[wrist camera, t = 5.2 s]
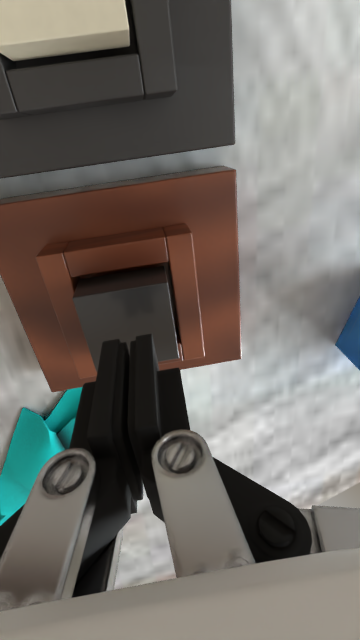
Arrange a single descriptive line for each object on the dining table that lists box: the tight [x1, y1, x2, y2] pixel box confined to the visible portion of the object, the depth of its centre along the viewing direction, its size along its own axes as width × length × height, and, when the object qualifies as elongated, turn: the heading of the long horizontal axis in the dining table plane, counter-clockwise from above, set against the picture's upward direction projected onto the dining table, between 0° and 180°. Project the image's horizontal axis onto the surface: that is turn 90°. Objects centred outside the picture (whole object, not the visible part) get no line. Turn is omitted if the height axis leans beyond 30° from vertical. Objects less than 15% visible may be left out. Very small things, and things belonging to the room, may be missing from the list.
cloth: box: [0, 387, 82, 526], centre depth 27 cm, size 26×14×2 cm, turn 139°
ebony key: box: [72, 266, 179, 372], centre depth 15 cm, size 4×4×2 cm
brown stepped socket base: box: [0, 166, 242, 392], centre depth 17 cm, size 11×12×4 cm
